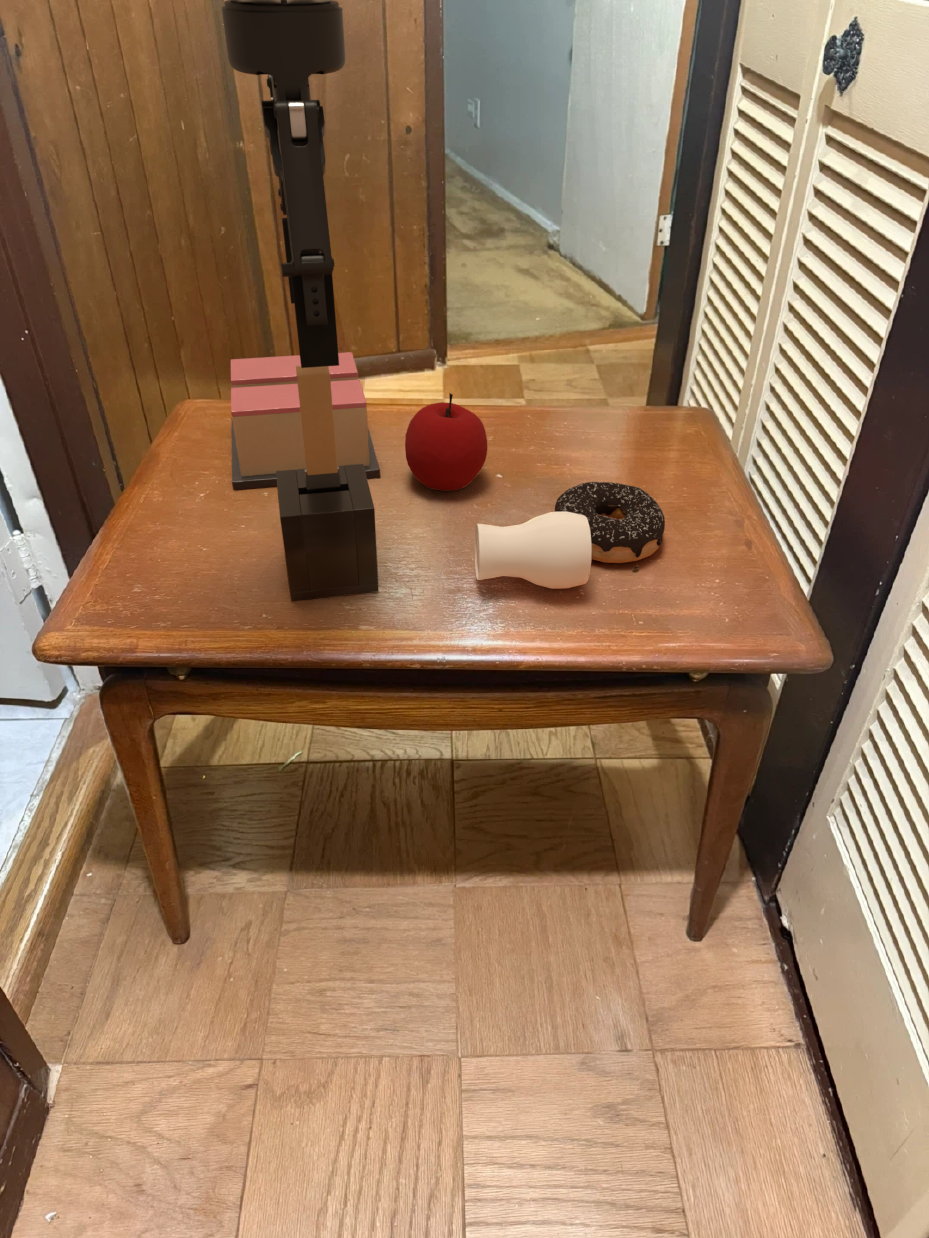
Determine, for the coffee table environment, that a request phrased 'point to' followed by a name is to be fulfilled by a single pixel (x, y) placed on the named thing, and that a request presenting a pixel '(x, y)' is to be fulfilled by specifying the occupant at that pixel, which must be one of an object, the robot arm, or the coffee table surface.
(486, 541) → the cream ceramic vase
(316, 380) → the knife
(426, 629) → the coffee table surface
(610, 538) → the donut
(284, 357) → the cake
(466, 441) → the apple
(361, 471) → the knife block
